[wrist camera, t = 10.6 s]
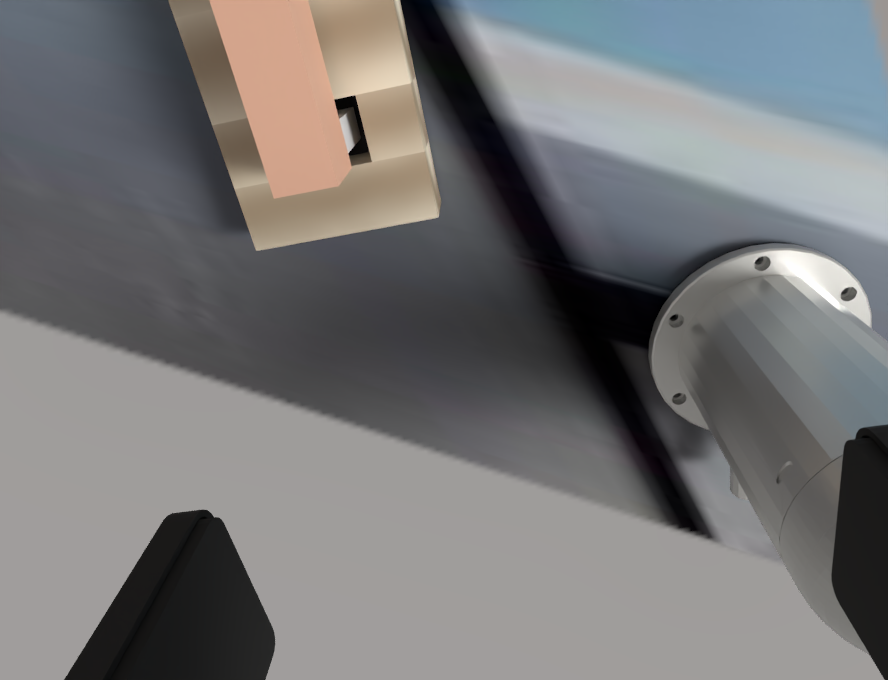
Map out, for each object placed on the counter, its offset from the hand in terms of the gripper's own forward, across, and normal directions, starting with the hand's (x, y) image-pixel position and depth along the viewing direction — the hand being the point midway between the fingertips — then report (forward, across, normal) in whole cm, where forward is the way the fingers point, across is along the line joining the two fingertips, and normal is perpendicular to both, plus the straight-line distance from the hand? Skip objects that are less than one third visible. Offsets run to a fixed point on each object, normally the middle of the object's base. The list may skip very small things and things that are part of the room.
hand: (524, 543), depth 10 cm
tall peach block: (+28, +8, -7) cm, 30 cm away
